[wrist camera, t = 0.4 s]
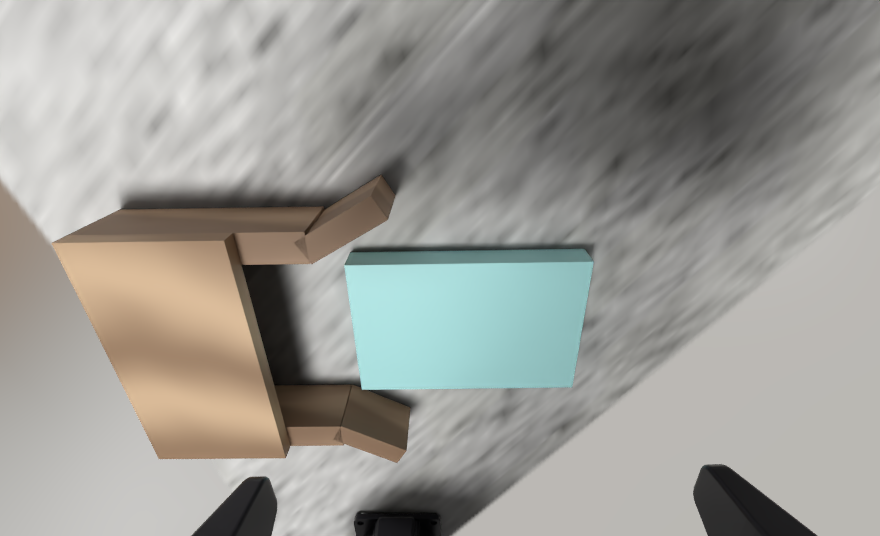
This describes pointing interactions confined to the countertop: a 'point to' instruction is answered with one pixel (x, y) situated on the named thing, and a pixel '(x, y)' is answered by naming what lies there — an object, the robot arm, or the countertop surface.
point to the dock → (221, 326)
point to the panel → (468, 317)
